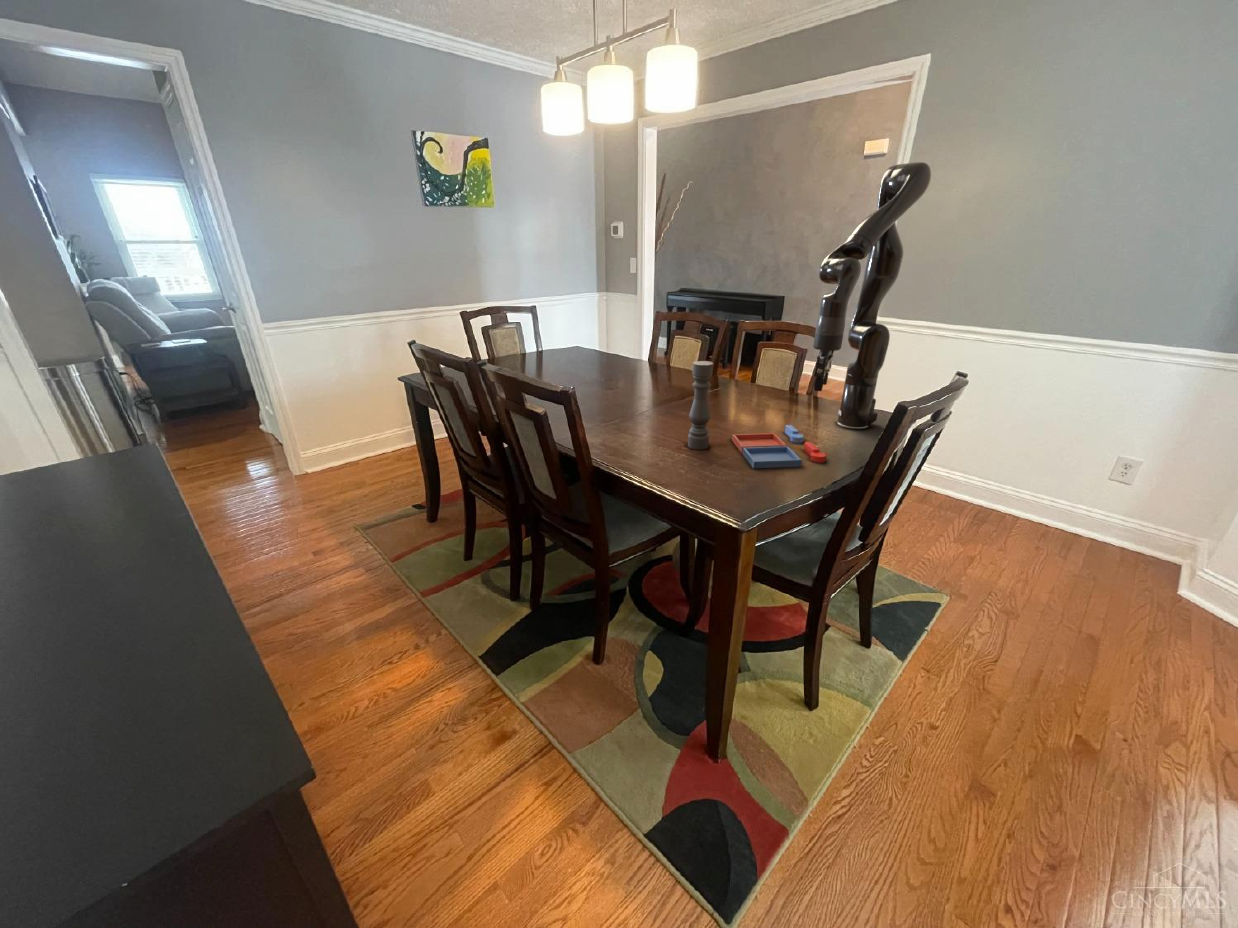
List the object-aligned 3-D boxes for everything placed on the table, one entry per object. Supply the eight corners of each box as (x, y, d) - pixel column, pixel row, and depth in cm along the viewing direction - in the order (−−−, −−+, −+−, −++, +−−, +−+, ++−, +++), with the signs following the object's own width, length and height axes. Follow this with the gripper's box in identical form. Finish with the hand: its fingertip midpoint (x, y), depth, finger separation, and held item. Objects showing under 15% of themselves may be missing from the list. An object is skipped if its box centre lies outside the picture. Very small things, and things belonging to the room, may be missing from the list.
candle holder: (709, 443, 149) (715, 361, 139) (706, 450, 144) (712, 366, 134) (689, 441, 151) (694, 360, 141) (685, 448, 146) (689, 364, 136)
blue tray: (787, 452, 142) (787, 446, 141) (801, 466, 133) (802, 460, 132) (742, 454, 142) (742, 447, 141) (753, 468, 132) (754, 461, 131)
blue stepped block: (781, 432, 157) (782, 425, 156) (793, 432, 158) (794, 424, 157) (792, 443, 149) (794, 435, 148) (805, 442, 149) (806, 434, 148)
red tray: (773, 439, 152) (774, 433, 151) (786, 451, 143) (786, 445, 142) (731, 440, 152) (732, 434, 151) (741, 452, 142) (742, 446, 141)
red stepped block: (800, 450, 144) (801, 442, 143) (812, 449, 144) (814, 441, 143) (813, 463, 135) (815, 454, 134) (827, 462, 135) (828, 453, 134)
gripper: (840, 336, 133) (829, 394, 140) (846, 329, 144) (837, 383, 151) (811, 334, 137) (802, 391, 143) (819, 328, 148) (811, 381, 154)
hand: (820, 387), depth 147 cm, fingers open, 8 cm apart
